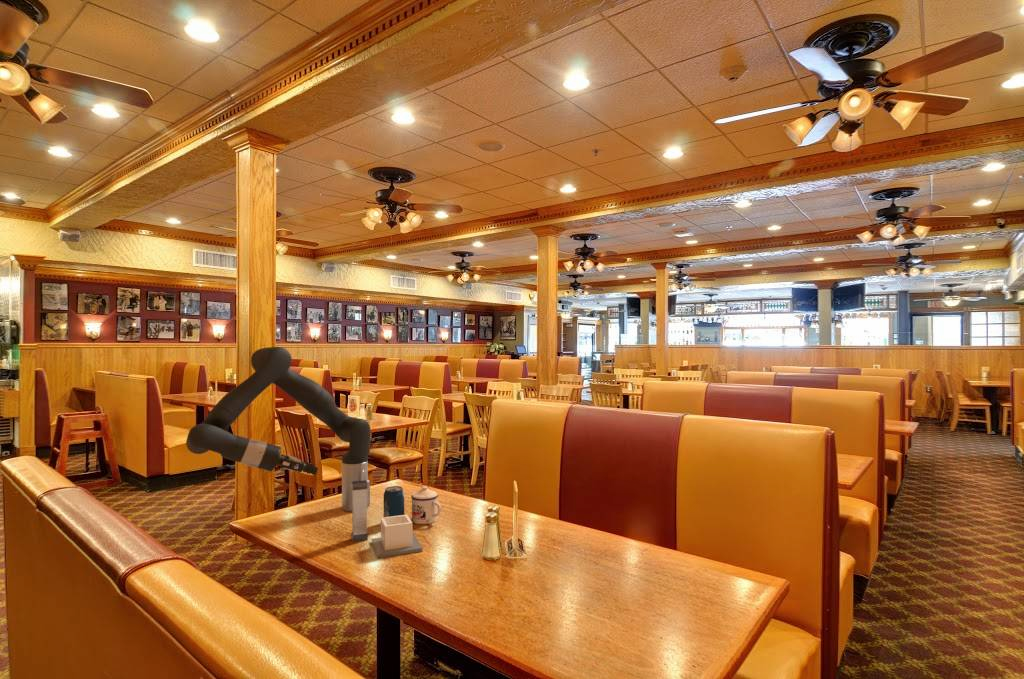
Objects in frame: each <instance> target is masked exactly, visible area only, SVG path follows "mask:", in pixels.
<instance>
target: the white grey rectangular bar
mask: <svg viewBox="0 0 1024 679" xmlns="http://www.w3.org/2000/svg"><path fill="white" fill-rule="evenodd" d="M367 508H368V507H367V481H366V480H364V481H354V482H352V511H351V514H352V519H351V520H352V525H351V526H352V529H351V530H352V532H351V540H352V543H354V542H361V541H362V540H363V541H367V540H368V537H369V535H368V534H369V533H368V530H367V528H368V527H367V526H368V523H367V522H368V520H367V519H368V518H367V516H368V515H367V514H368V513H367V511H368V509H367Z"/></svg>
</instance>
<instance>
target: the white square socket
mask: <svg viewBox="0 0 1024 679" xmlns="http://www.w3.org/2000/svg"><path fill="white" fill-rule="evenodd" d="M413 524H414V522H413V521H412V519H411V518H410V517H409V515H408V514H404V515H399V516H391V517H384V516H383V517H380V537H375V538H371V544H372V547H373V548H374V551H375V554H376V556H377V559H381V558H386V557H387V558H388V557H394V556H401V555H407V554H414V553H420V552H423V547H422V545H421V543H420V542H419V540H418V538H417V537H416V535H415V534H414V531H413V526H414V525H413Z"/></svg>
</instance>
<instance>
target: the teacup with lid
mask: <svg viewBox="0 0 1024 679" xmlns="http://www.w3.org/2000/svg"><path fill="white" fill-rule="evenodd" d="M438 496H439V495H438V493H437V491H434V490H431V489H429V488H428V486H427V485H424V486H421V489H419V490H418V491H415V492H413V493H412V494H411V497H410V498H411V521H412V523H413V524H417V525H430V524H433V523H435V522H437V520H438V516H440V515H441V512H442V505H441V503H440V502H438Z"/></svg>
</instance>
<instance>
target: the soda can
mask: <svg viewBox="0 0 1024 679" xmlns="http://www.w3.org/2000/svg"><path fill="white" fill-rule="evenodd" d="M399 515H405V491H404V490H403V487H402V486H398V485H394V486H393V485H392V486H388V487H386V488H385V490H384V493H383V517H391V516H399Z"/></svg>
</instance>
